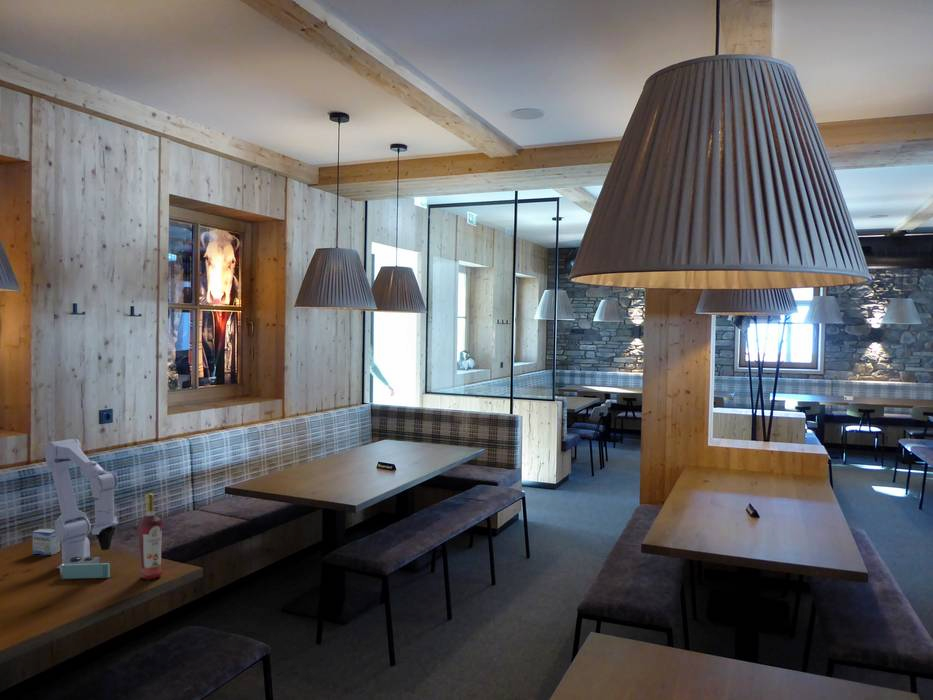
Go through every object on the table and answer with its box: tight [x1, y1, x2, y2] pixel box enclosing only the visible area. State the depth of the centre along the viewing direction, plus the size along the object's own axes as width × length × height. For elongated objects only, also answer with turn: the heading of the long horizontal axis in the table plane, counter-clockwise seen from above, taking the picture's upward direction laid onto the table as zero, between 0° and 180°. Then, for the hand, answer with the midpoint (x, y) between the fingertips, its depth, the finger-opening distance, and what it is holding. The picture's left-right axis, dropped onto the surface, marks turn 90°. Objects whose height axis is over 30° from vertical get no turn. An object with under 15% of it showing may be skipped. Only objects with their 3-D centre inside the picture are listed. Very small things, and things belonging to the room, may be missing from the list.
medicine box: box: [32, 528, 61, 556], centre depth 251 cm, size 8×4×9 cm, turn 81°
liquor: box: [137, 493, 163, 580], centre depth 226 cm, size 7×7×28 cm
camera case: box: [64, 555, 101, 564], centre depth 230 cm, size 7×9×5 cm
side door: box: [59, 562, 111, 581], centre depth 226 cm, size 16×2×5 cm, turn 94°
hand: (105, 549), depth 230 cm, fingers closed
